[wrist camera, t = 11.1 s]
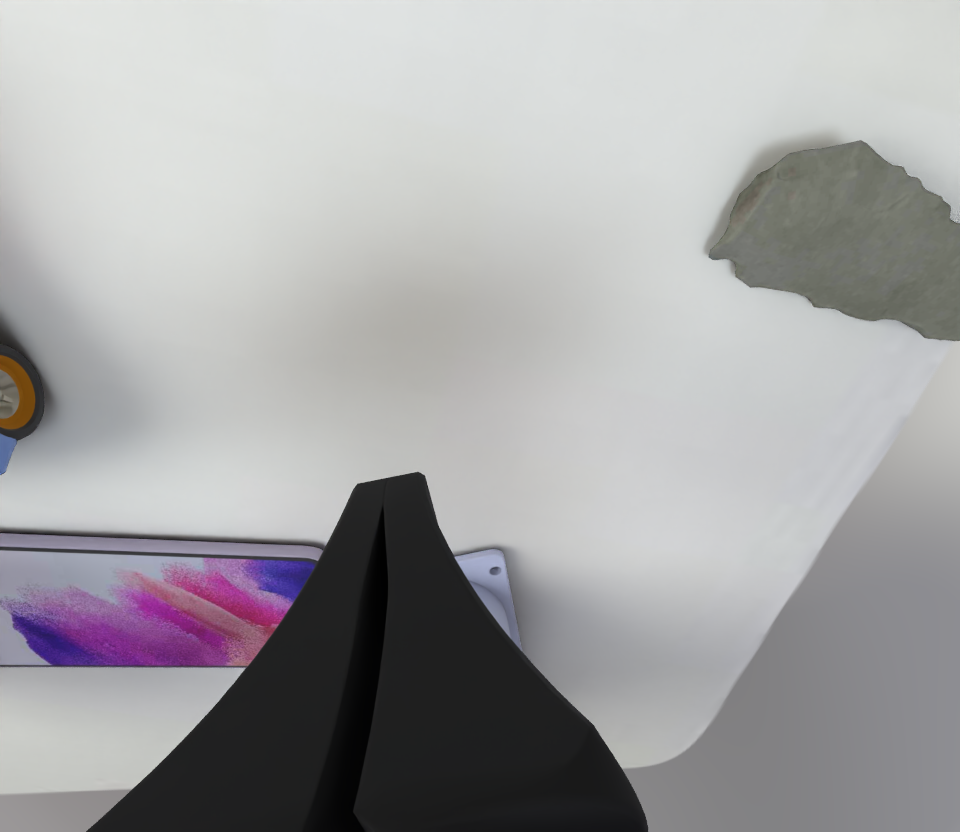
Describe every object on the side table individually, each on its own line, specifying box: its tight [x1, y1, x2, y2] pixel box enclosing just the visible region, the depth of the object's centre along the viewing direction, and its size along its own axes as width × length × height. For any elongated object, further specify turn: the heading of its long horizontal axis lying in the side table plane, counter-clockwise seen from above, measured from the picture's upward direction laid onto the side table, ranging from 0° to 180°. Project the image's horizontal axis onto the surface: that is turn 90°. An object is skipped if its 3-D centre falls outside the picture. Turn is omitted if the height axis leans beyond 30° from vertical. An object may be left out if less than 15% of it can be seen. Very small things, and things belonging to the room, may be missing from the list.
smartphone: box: [0, 533, 323, 668], centre depth 25 cm, size 7×1×15 cm
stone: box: [709, 141, 960, 341], centre depth 20 cm, size 13×2×5 cm
